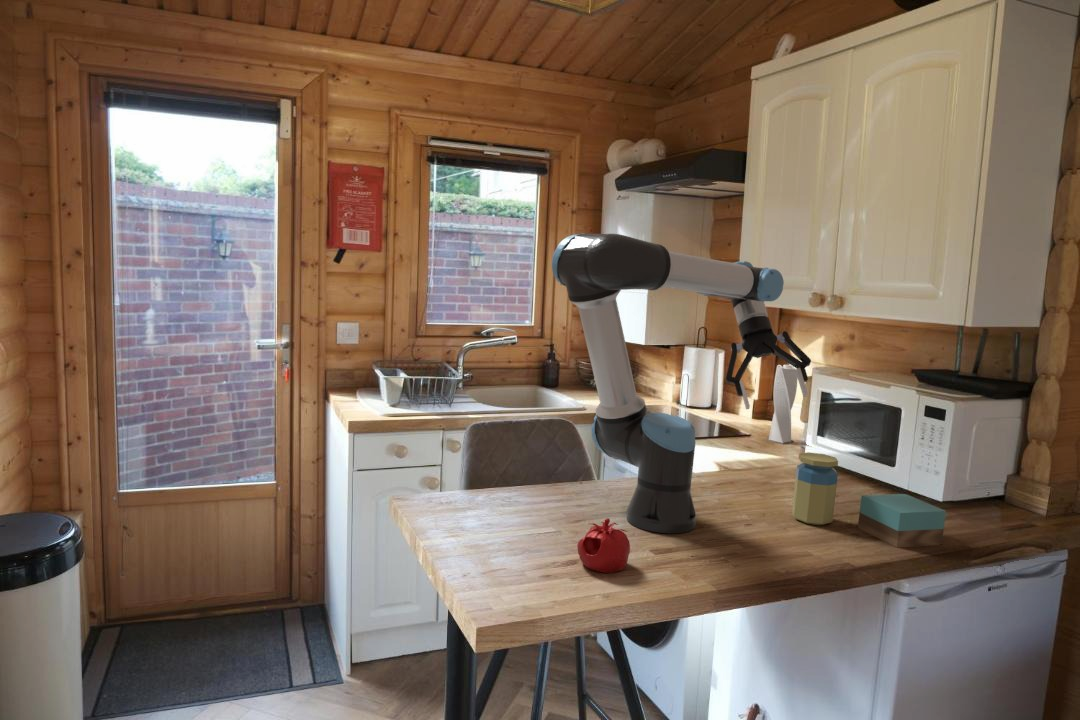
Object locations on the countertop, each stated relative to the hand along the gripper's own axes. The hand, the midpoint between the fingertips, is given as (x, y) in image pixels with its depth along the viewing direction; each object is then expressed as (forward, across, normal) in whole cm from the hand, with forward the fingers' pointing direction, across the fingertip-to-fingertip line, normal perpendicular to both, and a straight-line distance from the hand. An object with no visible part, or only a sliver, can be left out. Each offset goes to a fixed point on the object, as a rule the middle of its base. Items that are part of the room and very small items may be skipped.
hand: (776, 401), depth 179 cm
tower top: (+32, -19, -2) cm, 37 cm away
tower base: (+35, -18, -4) cm, 40 cm away
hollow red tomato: (+33, +44, +36) cm, 65 cm away
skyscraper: (-7, -9, -84) cm, 84 cm away
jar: (+28, -1, -6) cm, 29 cm away
